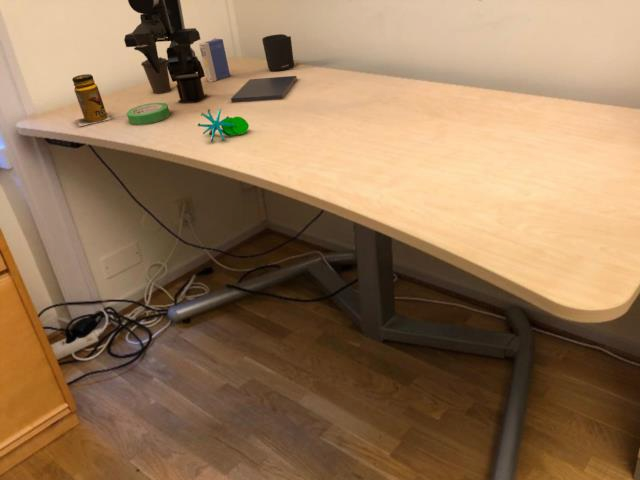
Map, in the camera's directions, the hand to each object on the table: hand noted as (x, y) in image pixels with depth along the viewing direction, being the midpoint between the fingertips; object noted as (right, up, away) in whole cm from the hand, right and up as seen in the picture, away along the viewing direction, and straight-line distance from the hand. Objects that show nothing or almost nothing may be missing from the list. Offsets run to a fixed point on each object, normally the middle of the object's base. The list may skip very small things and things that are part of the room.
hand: (171, 72), depth 152 cm
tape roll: (-9, -10, +9) cm, 16 cm away
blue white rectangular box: (+2, +12, +42) cm, 44 cm away
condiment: (-26, -9, +13) cm, 31 cm away
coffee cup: (-14, +6, +35) cm, 38 cm away
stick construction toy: (+16, -19, -10) cm, 27 cm away
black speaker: (+22, +17, +46) cm, 54 cm away
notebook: (+21, +2, +23) cm, 31 cm away
